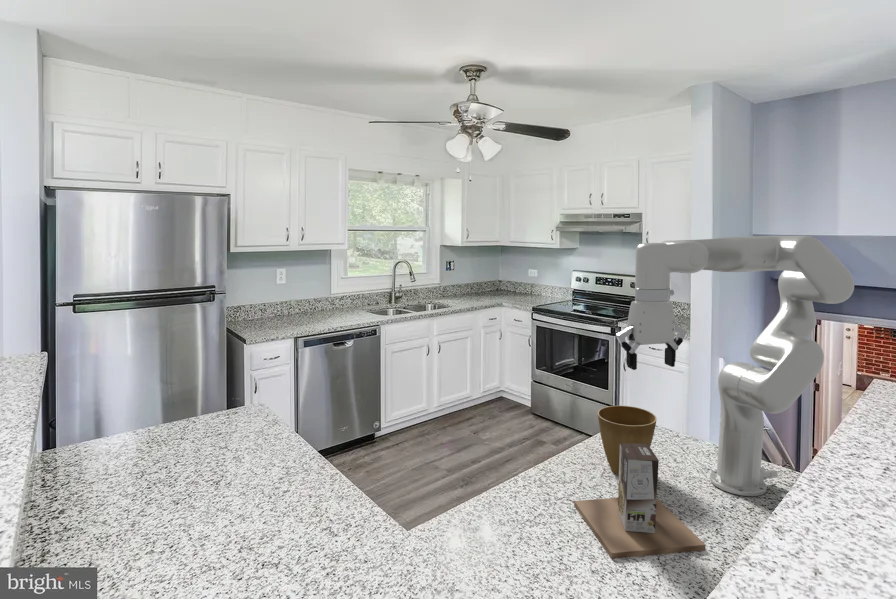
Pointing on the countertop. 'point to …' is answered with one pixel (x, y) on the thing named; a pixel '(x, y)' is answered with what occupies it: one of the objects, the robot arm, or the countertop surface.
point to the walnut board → (631, 544)
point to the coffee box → (637, 487)
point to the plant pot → (624, 430)
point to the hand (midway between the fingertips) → (650, 366)
